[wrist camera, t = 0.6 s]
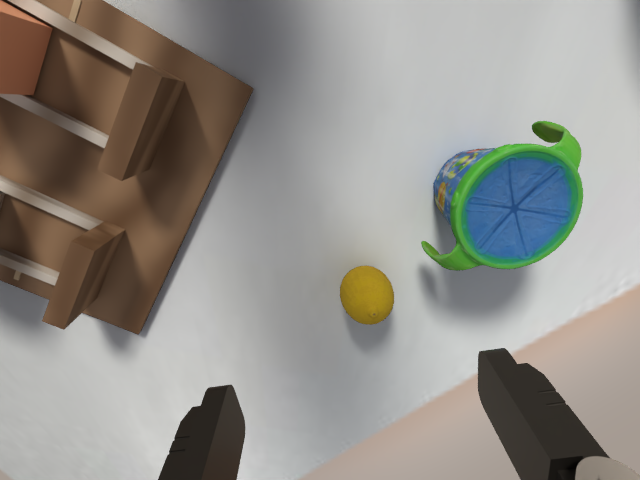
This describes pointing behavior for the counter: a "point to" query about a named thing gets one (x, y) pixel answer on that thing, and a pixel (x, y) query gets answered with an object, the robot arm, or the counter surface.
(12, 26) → the terracotta slider
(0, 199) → the steel slider
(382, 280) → the lemon
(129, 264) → the board
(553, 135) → the snack cup
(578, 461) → the robot arm
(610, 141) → the counter surface
